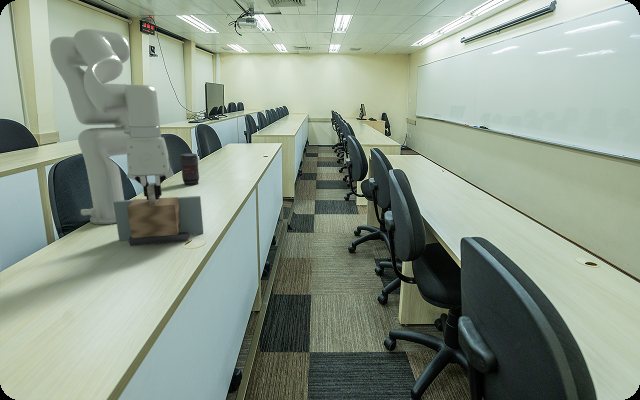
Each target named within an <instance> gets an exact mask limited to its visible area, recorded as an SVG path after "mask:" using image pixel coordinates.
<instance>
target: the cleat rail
mask: <svg viewBox="0 0 640 400" xmlns="http://www.w3.org/2000/svg"><path fill="white" fill-rule="evenodd" d="M189 240H190V235H189V233H188V232H180V233H178V235H166V236H153V237H140V238H132V236H131V237H130V238H129V240H128V243H129V247H136V246H145V245H159V244H168V243H171V244H172V243H179V242H189Z"/></svg>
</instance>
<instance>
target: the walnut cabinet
mask: <svg viewBox="0 0 640 400" xmlns="http://www.w3.org/2000/svg"><path fill="white" fill-rule="evenodd" d="M154 186H155V182H149V185H148V187H147V191H148V199H149V200H147V198H137V199H132V200H133V201H132V202H131V204H130V205H129V206H128V207H127V210H128V217H129V224H130V230H131V236H132V238H140V237H153V236H166V235H178V233H179V230H178V228H180V226H181V223H180V212H179V202H178V197H179V196H175V197H173V196H172V197H160V198H159V199H158V200H156V198H155V190H154Z"/></svg>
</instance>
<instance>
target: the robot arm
mask: <svg viewBox="0 0 640 400" xmlns="http://www.w3.org/2000/svg"><path fill="white" fill-rule="evenodd" d="M49 49H50V55H51V59H52V62H53V64H54V67H55V68H56V70H57V73H58V74H59V75H60V76H61V79H62V80H63V82H64V83H65V85H66V89H67V92H68V95H69V98H70V101H71V103H72V104H71V105H72V108H73V110H74V114H75V116H76V119H77V120H78V122H79V123H80V124H81V125H85V126H107V127H92V128H87V129H84V130H82V131H81V132H80V133H78V137H77V141H78V146H79V148H80V151H81V153H82V156H83V159H84V164H85V168H86V172H87V178H88V185H89V189H90V195H91V200H92V206H93V207H91V208H83V209H80V215H82V216H83V217H88V216H90V218H89V219H90V220H89V221H90V223H91V224H94V225H112V224H117V223H116V216H115V210H114V204H113V202H114V201H121V200H125V197H124V189H123V183H122V177H121V170H120V167H119V165H118V164H117V163H115V162H114V161H113V160H112V159H111V158H110V157H115V156H124V155H126V164H127V174H126V178H128V179H131V180H132V181H133V180H134V181H136V182H137V183H139V184H140V185H141V186H142V188H143V195H144V197H146V199H147V200H149V199H148V191H147V187H148V185H149V184H150V182H149V179H148V176H149V177H150V176H154V183H155V186H154V190H155V198H156V200H158V199H159V198H161V196H162V186H161V184H162V183H163V182H164V181H165V180H167V179H170V178H171V177H174V174H175V173H174V172H173V169H172V168H171V163H170V157H169V151H168V148H167V144H166V140H165V137H162V130H161V122H160V113H159V112H160V111H159V104H158V103H159V102H158V96H157V95H158V93H157V90H156V88H155V86H152V85H148V84H147V85H146V84H126V83H109V82H112V81H115V80H116V79H118V78H119V77H120V76H121V74H122V73H123V71H124V70H123V69H124V66H123V64H124V63H126V62H127V61H128V60H129V58H130V54H131V49H130V45H129V42H128V41H127V39H126V37H124V36H123V35H122V34H120V33H118V32H112V31H106V30H99V29H92V28H91V29H90V28H86V29H85V28H84V29H80V30H78V31H76V33H75V34H74V35H73V36H57V37H55V38H54V39H51V41H50V45H49ZM82 67H87V68H86V70H84V69H83V68H82ZM110 125H111V127H108V126H110ZM112 125H113V126H114V127H113V126H112Z"/></svg>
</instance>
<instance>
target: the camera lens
mask: <svg viewBox="0 0 640 400" xmlns="http://www.w3.org/2000/svg"><path fill="white" fill-rule="evenodd" d="M179 160H180V166H181V178H182V181H183V183H184V185H185V186H195V185H199V180H200V172H199V157H198V154H196V153H181V154H180V158H179Z"/></svg>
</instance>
